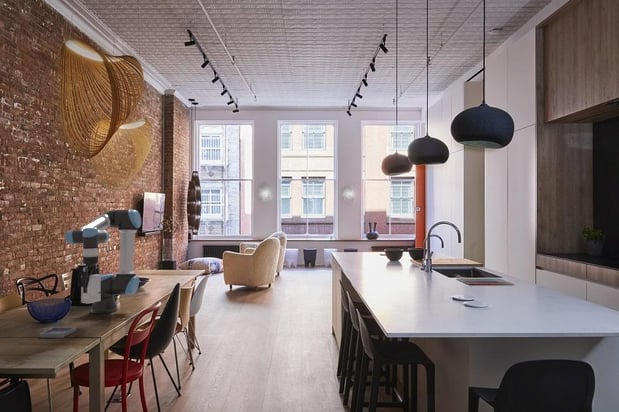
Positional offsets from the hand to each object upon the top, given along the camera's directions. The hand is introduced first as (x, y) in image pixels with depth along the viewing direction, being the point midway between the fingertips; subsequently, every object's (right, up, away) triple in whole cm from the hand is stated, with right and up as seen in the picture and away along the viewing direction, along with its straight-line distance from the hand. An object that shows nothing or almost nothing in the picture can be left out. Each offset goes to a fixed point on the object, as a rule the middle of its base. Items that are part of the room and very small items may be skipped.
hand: (91, 297), depth 258 cm
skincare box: (0, -3, 0) cm, 3 cm away
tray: (-12, -18, -10) cm, 24 cm away
